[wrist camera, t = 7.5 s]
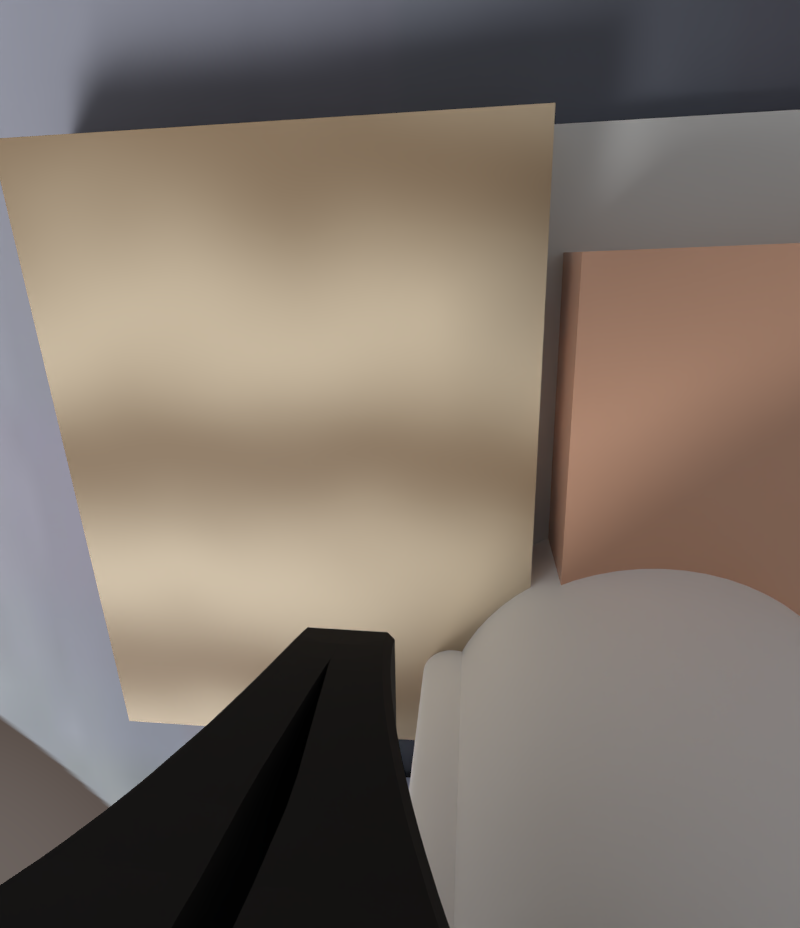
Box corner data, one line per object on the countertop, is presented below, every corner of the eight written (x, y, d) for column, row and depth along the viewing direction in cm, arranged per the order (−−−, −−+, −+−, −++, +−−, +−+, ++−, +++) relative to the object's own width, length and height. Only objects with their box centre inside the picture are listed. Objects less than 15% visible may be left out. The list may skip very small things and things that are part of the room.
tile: (797, 618, 16) (851, 679, 14) (544, 610, 17) (555, 665, 15) (883, 239, 13) (974, 236, 11) (563, 252, 14) (582, 251, 11)
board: (516, 686, 19) (522, 747, 16) (169, 667, 20) (129, 720, 18) (541, 129, 13) (555, 102, 11) (66, 157, 15) (-10, 138, 13)
